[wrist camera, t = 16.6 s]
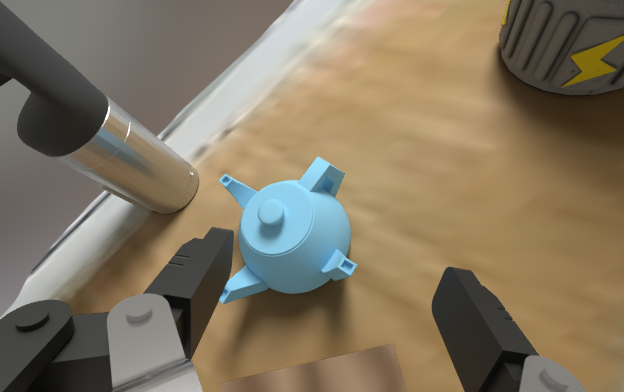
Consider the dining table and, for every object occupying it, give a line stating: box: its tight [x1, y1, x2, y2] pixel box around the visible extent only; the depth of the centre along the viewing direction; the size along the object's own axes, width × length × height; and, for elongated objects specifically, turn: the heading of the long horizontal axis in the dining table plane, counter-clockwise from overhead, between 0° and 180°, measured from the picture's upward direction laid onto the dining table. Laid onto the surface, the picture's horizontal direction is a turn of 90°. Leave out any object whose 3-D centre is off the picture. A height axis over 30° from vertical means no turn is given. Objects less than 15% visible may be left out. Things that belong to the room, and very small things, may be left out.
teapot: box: [219, 157, 358, 304], centre depth 35 cm, size 15×15×11 cm
